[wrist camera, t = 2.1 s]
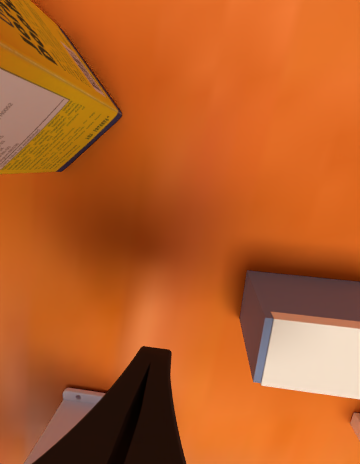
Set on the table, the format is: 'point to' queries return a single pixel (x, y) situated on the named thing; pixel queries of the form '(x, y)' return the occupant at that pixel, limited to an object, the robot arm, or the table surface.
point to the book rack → (356, 424)
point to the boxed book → (302, 332)
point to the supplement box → (45, 94)
